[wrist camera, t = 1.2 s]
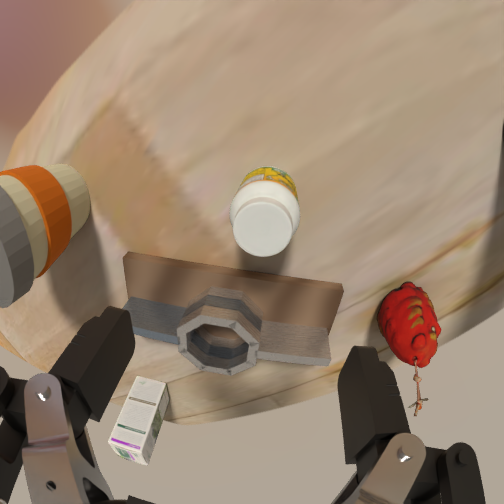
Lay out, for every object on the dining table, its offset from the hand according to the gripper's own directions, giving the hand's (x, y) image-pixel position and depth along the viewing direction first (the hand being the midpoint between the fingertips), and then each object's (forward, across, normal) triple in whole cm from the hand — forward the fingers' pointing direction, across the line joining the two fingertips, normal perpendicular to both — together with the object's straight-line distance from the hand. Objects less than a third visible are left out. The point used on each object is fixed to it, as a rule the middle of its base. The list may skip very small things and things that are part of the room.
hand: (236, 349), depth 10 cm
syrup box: (+21, +15, +36) cm, 44 cm away
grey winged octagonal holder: (+19, +3, +15) cm, 24 cm away
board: (+20, +3, +15) cm, 25 cm away
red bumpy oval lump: (+20, -18, +11) cm, 29 cm away
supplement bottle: (+20, 0, 0) cm, 21 cm away
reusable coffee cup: (+21, +25, +3) cm, 32 cm away
